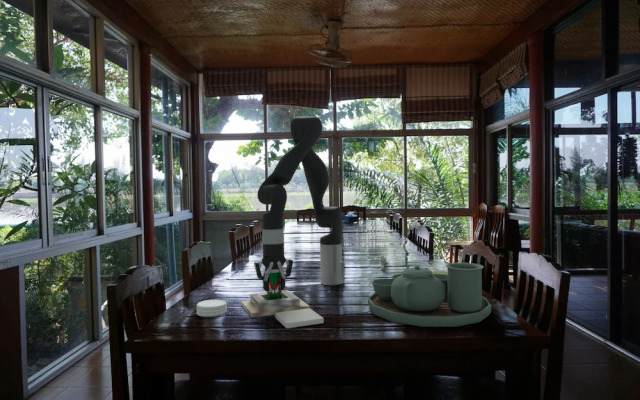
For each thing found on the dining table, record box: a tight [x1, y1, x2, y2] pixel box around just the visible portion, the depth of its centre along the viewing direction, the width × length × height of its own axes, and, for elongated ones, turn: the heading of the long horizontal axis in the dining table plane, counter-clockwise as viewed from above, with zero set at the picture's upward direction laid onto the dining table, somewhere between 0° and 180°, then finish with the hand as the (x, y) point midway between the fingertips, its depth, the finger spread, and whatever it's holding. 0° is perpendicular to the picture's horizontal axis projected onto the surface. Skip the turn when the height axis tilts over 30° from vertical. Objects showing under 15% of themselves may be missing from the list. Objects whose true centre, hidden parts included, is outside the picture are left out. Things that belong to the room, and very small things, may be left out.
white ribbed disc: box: [195, 299, 228, 318], centre depth 149 cm, size 10×10×4 cm
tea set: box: [367, 262, 492, 328], centre depth 148 cm, size 40×40×16 cm
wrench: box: [380, 254, 387, 271], centre depth 225 cm, size 8×2×30 cm
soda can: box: [267, 269, 283, 300], centre depth 153 cm, size 5×5×12 cm
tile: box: [274, 307, 325, 329], centre depth 139 cm, size 12×12×2 cm
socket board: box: [240, 289, 310, 319], centre depth 153 cm, size 20×16×4 cm
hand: (274, 289), depth 153 cm, fingers closed on soda can, 5 cm apart
